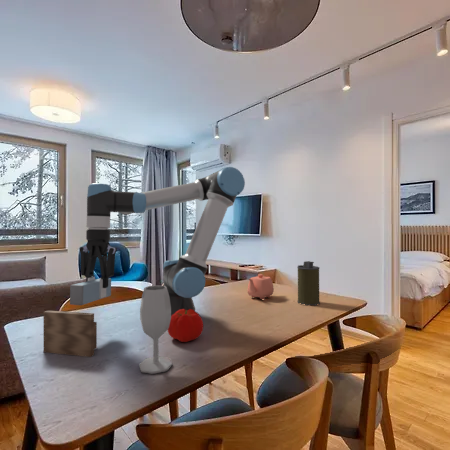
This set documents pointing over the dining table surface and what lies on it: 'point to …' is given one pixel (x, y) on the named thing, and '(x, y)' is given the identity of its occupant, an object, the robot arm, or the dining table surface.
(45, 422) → the dining table surface
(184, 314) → the tomato
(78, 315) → the panel
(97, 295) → the rail
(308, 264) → the canister
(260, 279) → the teapot
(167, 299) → the wineglass
